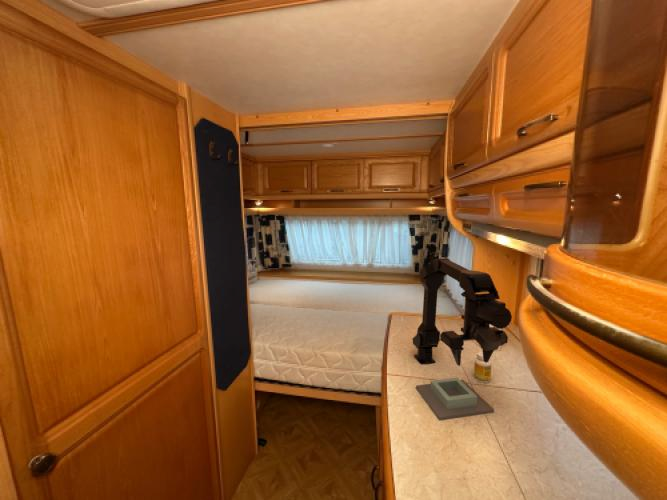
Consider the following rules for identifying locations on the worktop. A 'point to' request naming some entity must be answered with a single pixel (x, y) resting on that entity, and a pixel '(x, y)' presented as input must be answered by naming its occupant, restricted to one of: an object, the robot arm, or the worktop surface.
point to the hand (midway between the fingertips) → (472, 363)
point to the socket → (453, 399)
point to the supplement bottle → (482, 369)
